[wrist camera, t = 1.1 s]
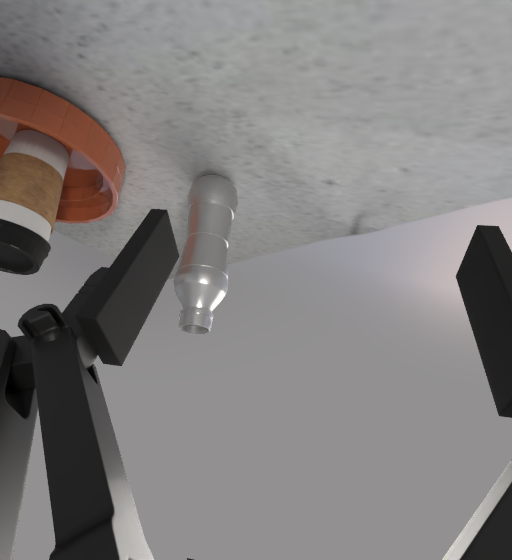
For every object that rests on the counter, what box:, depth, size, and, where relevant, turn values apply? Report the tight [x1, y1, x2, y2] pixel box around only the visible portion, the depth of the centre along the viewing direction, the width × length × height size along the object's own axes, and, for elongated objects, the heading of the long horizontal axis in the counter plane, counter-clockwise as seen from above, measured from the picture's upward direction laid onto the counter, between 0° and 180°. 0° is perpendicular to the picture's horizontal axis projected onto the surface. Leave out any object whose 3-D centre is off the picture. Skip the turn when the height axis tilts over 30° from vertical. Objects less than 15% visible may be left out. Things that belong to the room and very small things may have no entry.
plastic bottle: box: [174, 175, 238, 334], centre depth 45 cm, size 6×7×20 cm
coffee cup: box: [0, 130, 69, 275], centre depth 41 cm, size 8×8×15 cm
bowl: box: [0, 77, 126, 223], centre depth 43 cm, size 19×19×5 cm
